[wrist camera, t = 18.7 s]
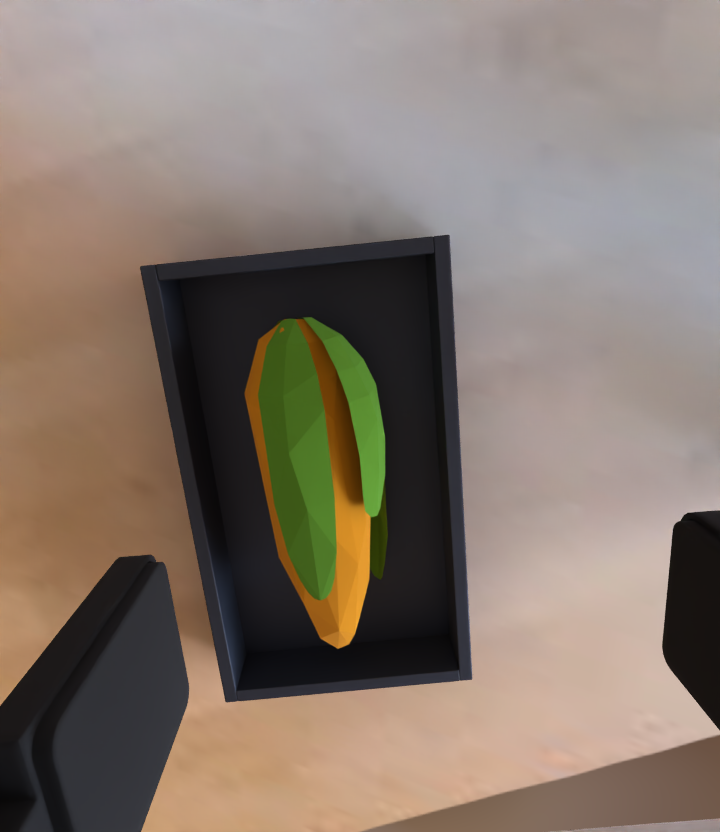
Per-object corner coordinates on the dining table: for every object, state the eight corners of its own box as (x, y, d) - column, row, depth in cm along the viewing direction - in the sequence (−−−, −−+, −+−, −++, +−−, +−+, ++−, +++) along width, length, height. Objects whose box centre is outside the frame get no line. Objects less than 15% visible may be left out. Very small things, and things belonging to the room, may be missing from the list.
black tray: (238, 657, 38) (225, 702, 34) (166, 267, 31) (139, 266, 27) (459, 636, 37) (472, 679, 34) (437, 239, 31) (449, 234, 27)
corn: (367, 314, 23) (410, 692, 29) (372, 303, 31) (406, 606, 36) (203, 333, 24) (274, 700, 29) (247, 318, 31) (297, 613, 36)
